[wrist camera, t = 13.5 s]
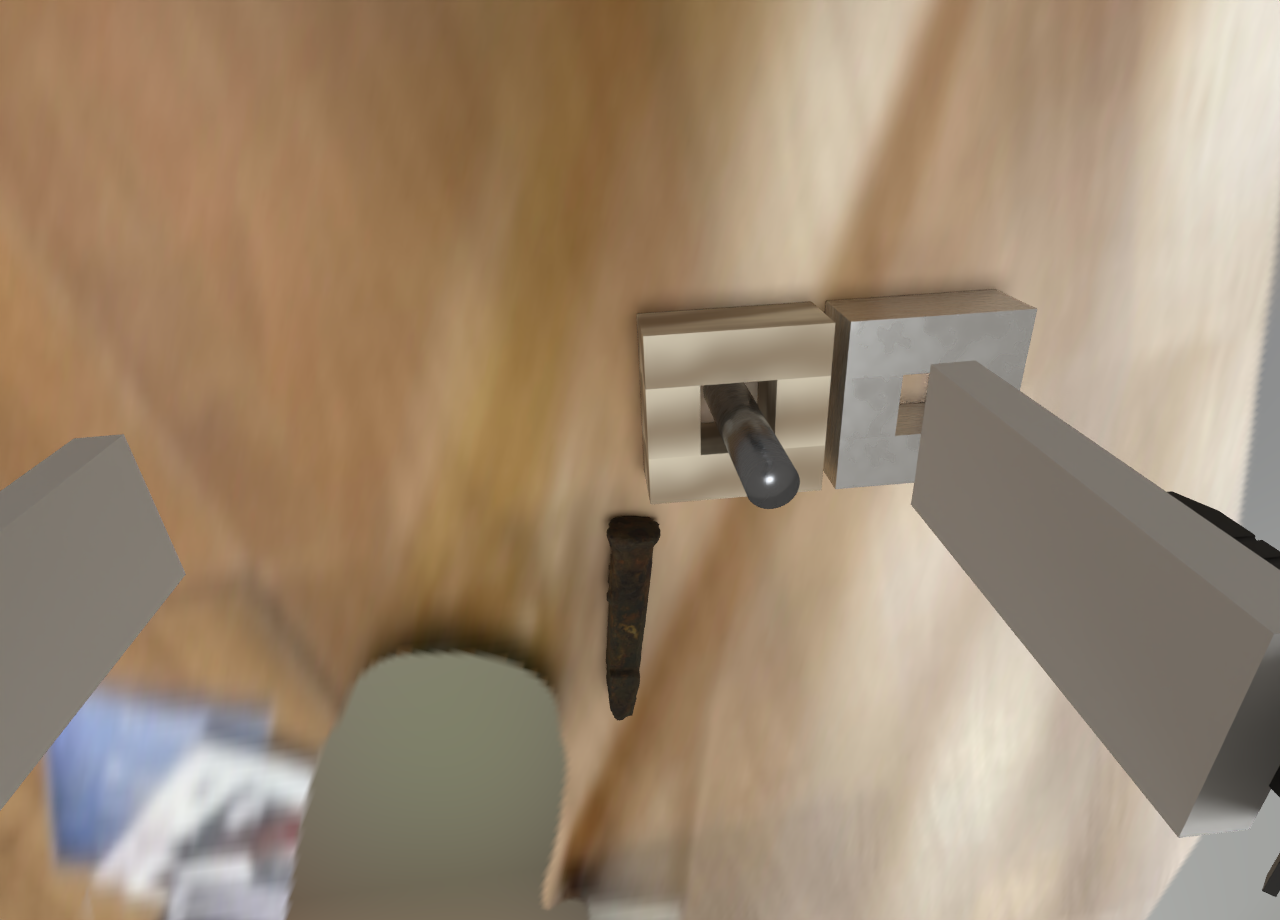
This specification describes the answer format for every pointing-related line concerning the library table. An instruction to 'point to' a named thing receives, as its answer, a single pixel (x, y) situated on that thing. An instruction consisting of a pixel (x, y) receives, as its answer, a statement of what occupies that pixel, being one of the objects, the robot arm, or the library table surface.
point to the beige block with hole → (720, 354)
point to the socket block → (908, 371)
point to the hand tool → (627, 606)
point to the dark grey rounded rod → (752, 446)
